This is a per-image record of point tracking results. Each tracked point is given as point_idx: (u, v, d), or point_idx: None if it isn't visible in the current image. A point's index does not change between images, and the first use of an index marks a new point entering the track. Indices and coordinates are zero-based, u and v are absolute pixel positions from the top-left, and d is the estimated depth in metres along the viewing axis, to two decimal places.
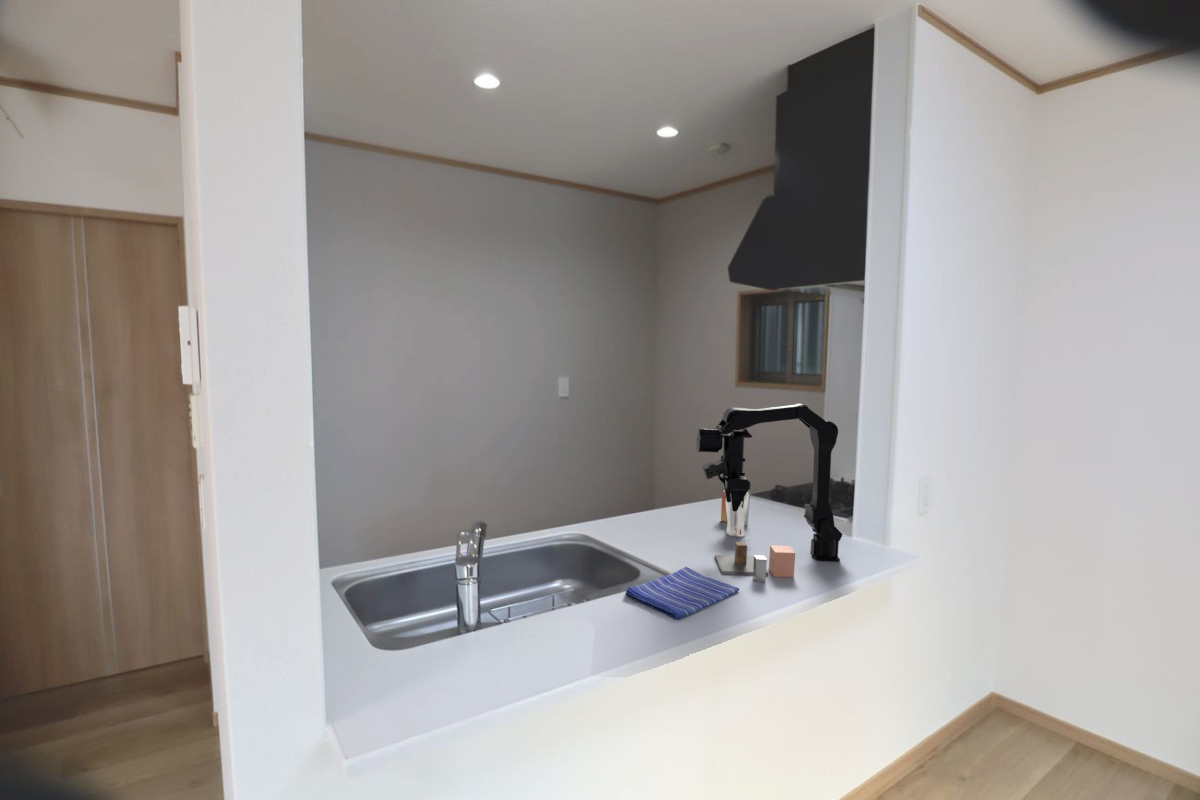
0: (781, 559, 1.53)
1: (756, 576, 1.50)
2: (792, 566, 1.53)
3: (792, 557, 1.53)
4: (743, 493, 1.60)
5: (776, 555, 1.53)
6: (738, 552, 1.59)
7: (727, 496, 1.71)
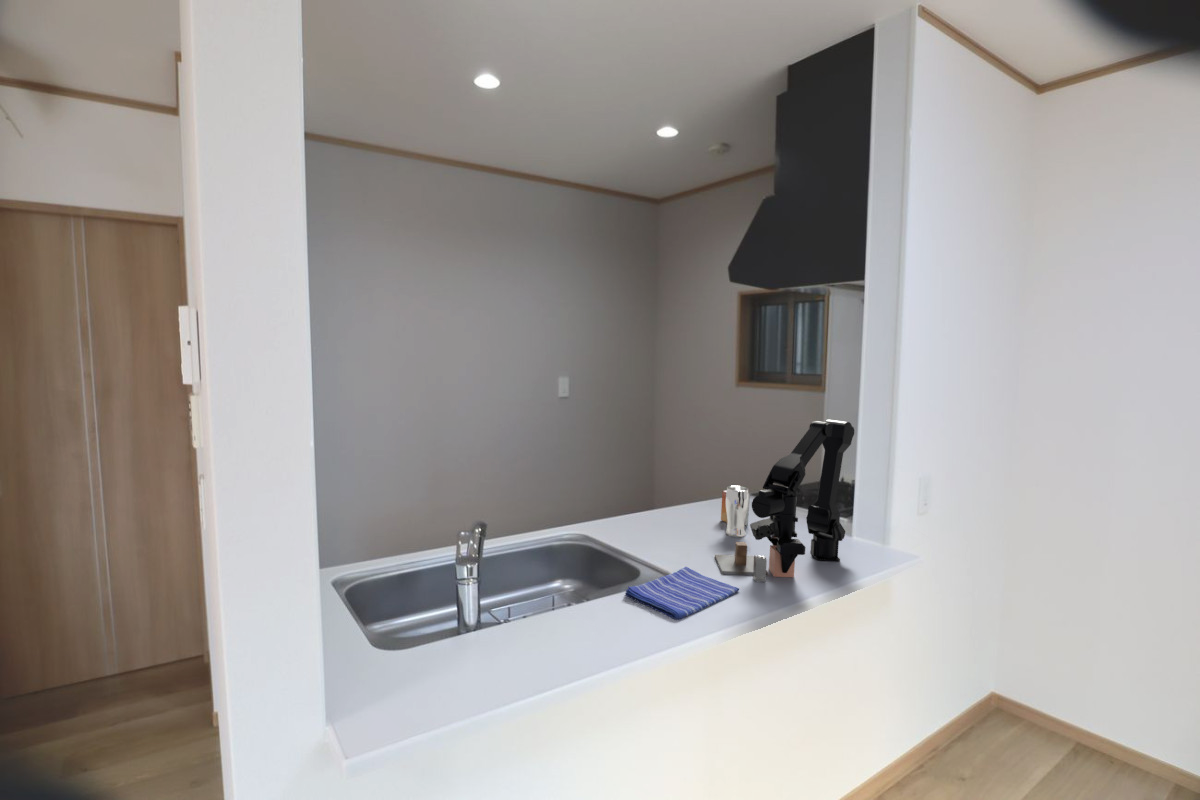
0: None
1: (756, 576, 1.50)
2: (792, 566, 1.53)
3: None
4: (794, 554, 1.51)
5: (776, 555, 1.53)
6: (738, 552, 1.59)
7: None
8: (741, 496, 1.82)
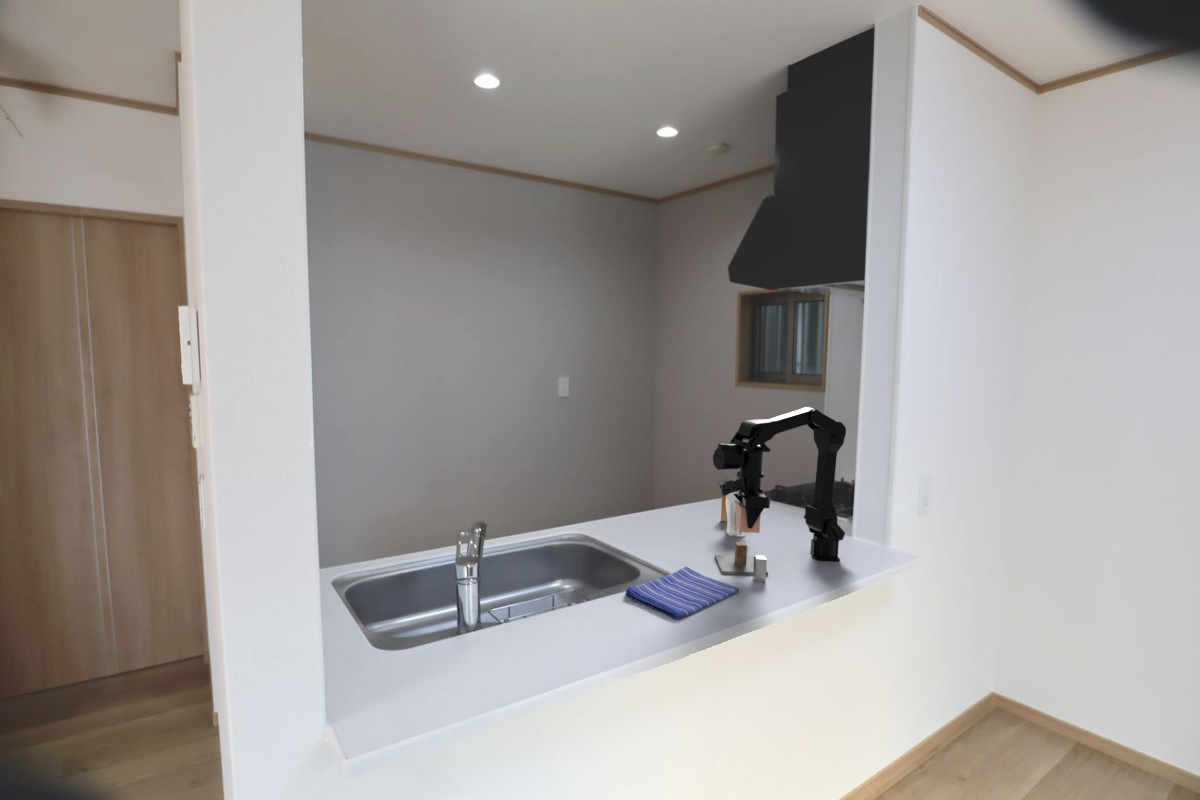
0: None
1: (756, 576, 1.50)
2: (758, 522, 1.55)
3: None
4: (760, 509, 1.53)
5: (742, 511, 1.55)
6: (738, 552, 1.59)
7: None
8: None
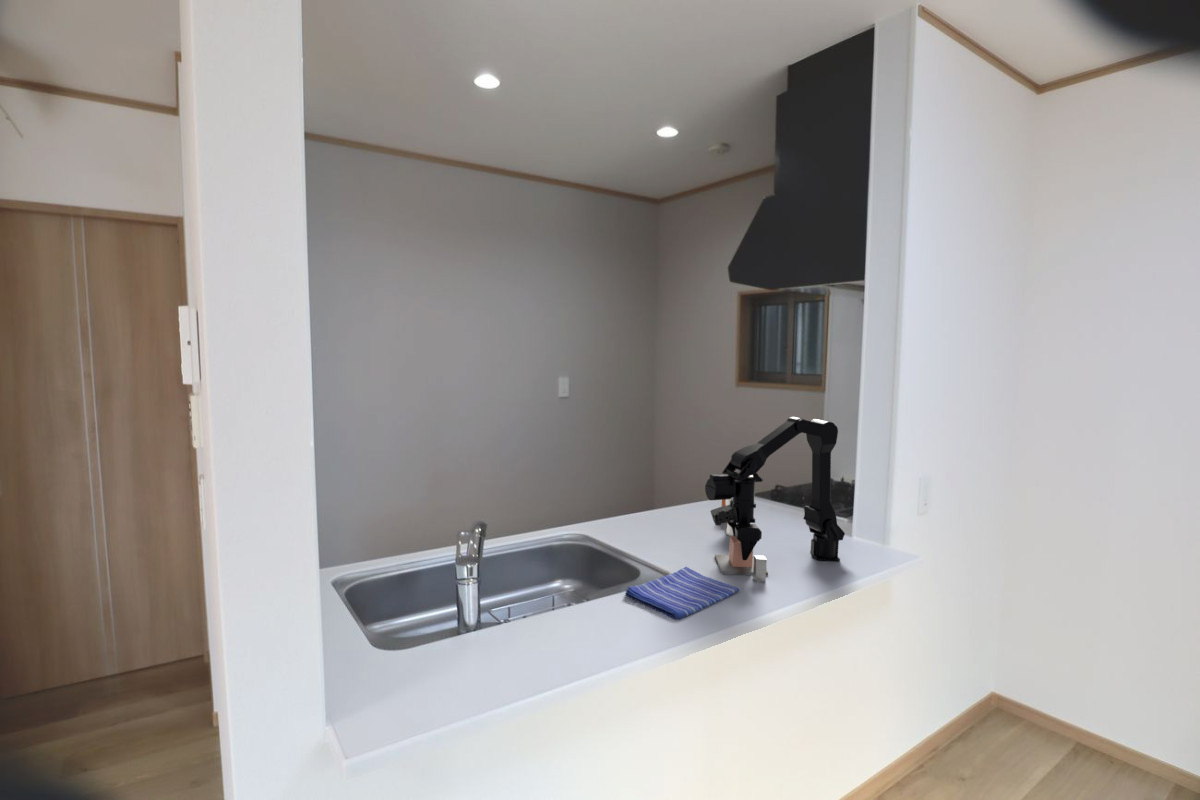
0: (739, 549, 1.57)
1: (756, 576, 1.50)
2: (750, 556, 1.57)
3: None
4: (754, 542, 1.53)
5: (735, 545, 1.57)
6: None
7: None
8: None
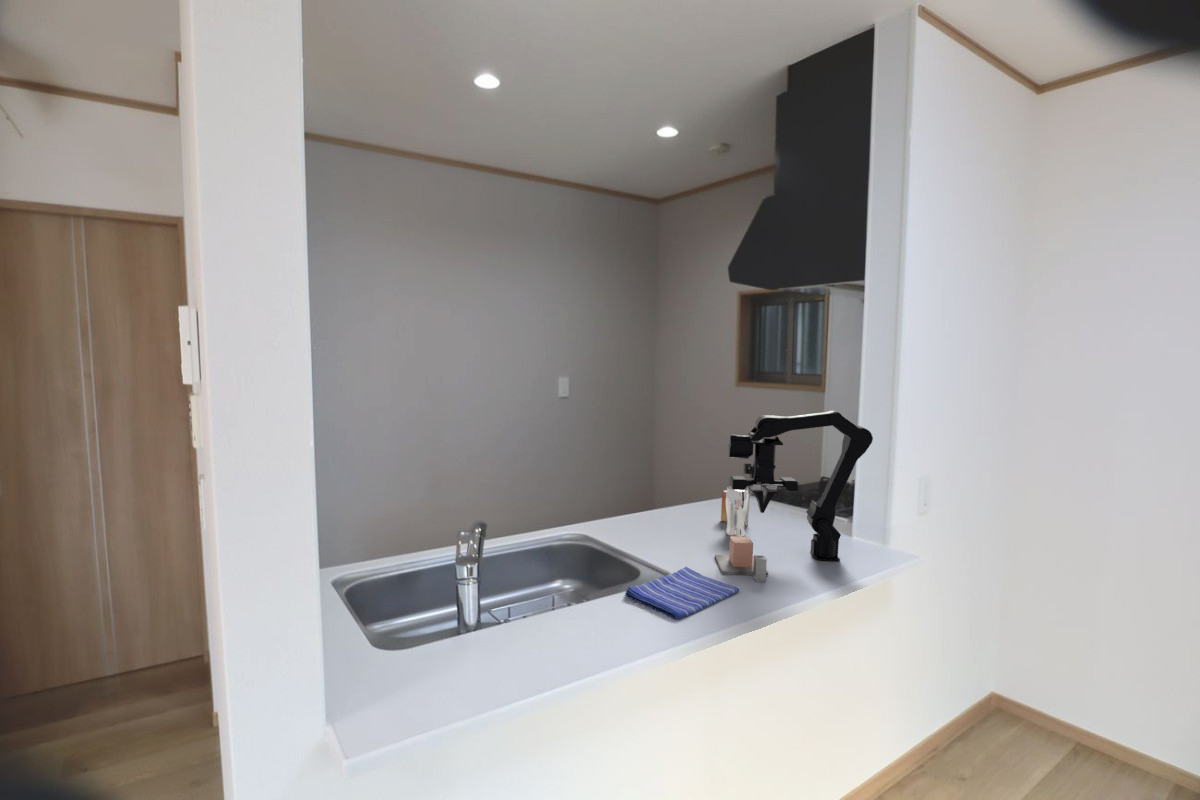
0: (739, 549, 1.57)
1: (756, 576, 1.50)
2: (750, 556, 1.57)
3: (750, 547, 1.57)
4: (757, 495, 1.68)
5: (735, 545, 1.57)
6: None
7: None
8: (741, 496, 1.82)
